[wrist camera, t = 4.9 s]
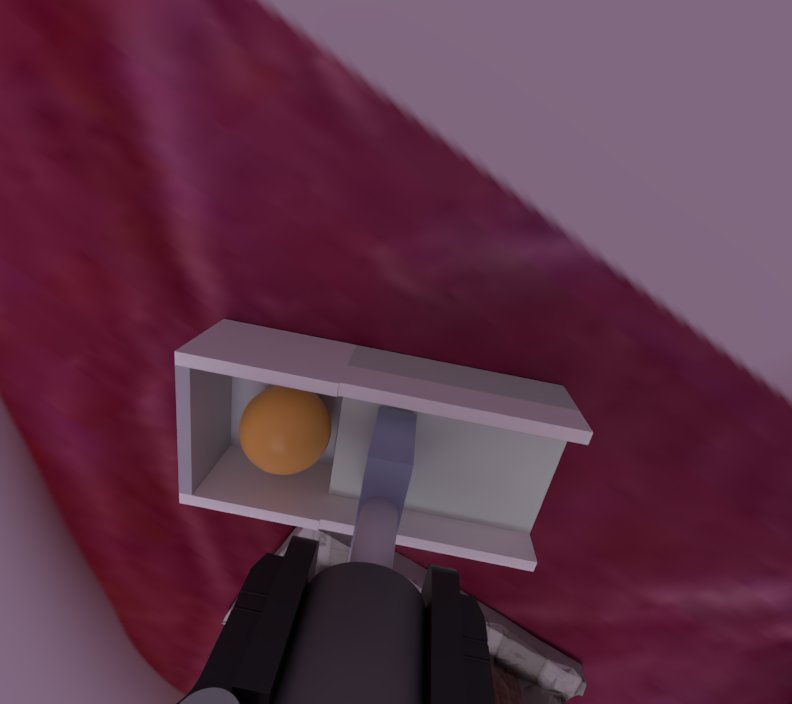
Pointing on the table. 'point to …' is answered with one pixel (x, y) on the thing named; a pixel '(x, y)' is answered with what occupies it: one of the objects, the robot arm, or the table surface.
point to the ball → (285, 430)
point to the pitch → (455, 452)
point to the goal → (224, 405)
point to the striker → (364, 597)
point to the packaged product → (508, 643)
